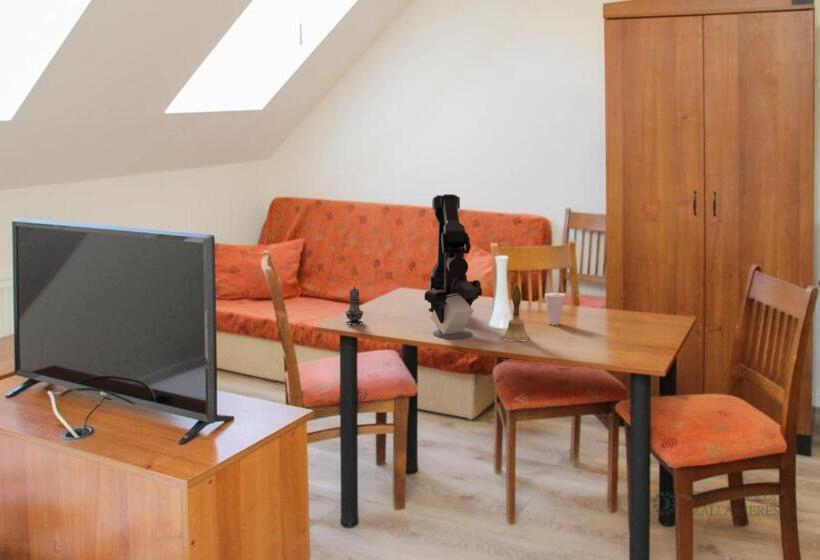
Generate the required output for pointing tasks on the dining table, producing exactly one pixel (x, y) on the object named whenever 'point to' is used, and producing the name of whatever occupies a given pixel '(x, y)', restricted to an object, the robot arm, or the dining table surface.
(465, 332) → the disc
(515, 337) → the hand bell
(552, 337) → the dining table surface
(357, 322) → the salt shaker
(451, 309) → the white block
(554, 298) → the smoothie
